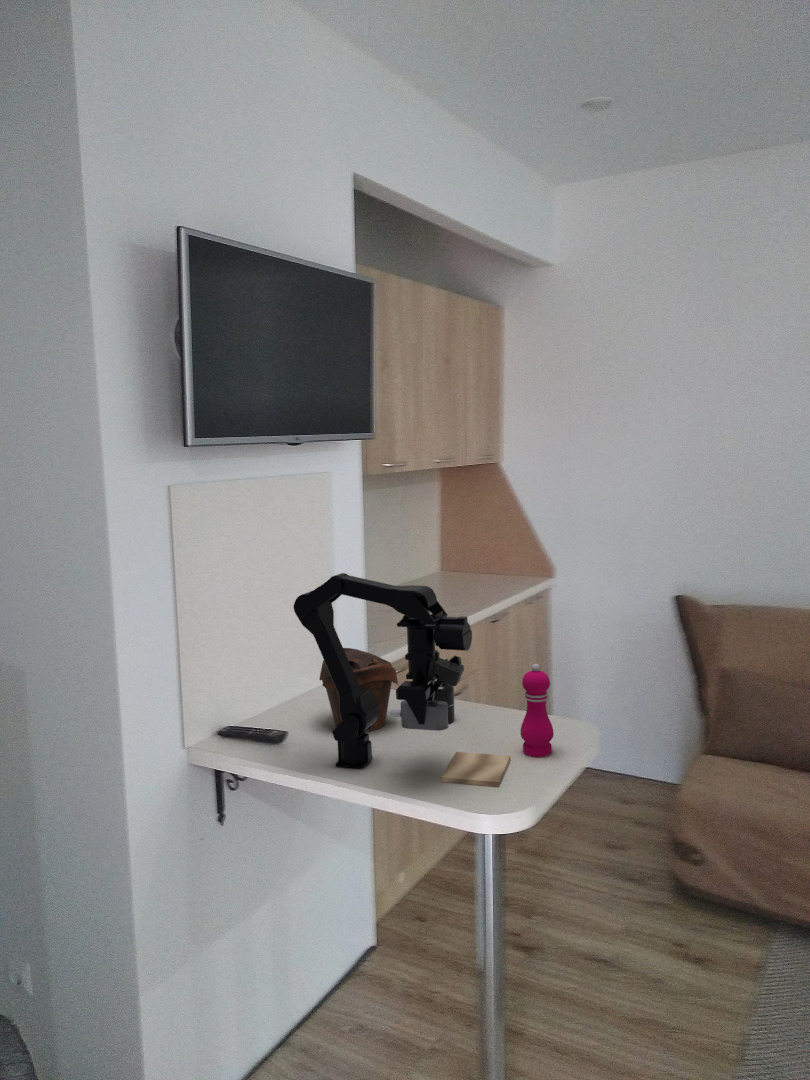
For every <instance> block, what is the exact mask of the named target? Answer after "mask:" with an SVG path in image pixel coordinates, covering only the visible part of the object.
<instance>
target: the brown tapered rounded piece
mask: <svg viewBox="0 0 810 1080" xmlns="http://www.w3.org/2000/svg"><path fill="white" fill-rule="evenodd" d="M343 649H344V651H345V654H346V656H347V658H348V661H349V663H350V665H351V668H352V670H353V672H354V675H355V677H356V679H357V682H358V684H359V686H360V687H361V688H362V689H363V690H364V691H366V692H368V691H369V690H372V692H373V694H374V698H375V700H376V702H377V703H378V705H379V707H378V711H379V715H378V718H377V720H376V722H375V723H374V724H372V727H371V730H369V731H368V732H371V731H375V730H377V729H380V728H381V727H383V726H384V725H385V723H386V721H387V716H388V714H387V713H388V707H389V701H390V695H391V690H392V684H396V685H399V681H398V675H397V670H396V668H395V667H394V666H392V665H393V664H392V663H391V662H389V661H388V660H386V659H384V658H383V657H380V656H378V655H376V654H373V653H370V652H368V651H364V650H360V649H356V648H350V647H343ZM319 681H321V682H322V687H323V688H325V689H326V690H325V691H326V693H327V698H328V701H329V706H330V710H331V713H332V717H333V718H332V719H333V722H334V726H335V728H336V727H337V726H338V725H339V724H340V723H341V722H342V720H341V716H340V712H339V694H338V691H337V689H336V687H335V684H334V682H333V680H332V677H331V675H330V673H329V670H328V668H327V666H326V663H325V661H324V659H323V661H322V664H321V669H320V673H319Z"/></svg>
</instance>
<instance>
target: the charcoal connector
mask: <svg viewBox="0 0 810 1080" xmlns="http://www.w3.org/2000/svg"><path fill="white" fill-rule="evenodd" d="M388 712H389V713H388V715H389V716H388V717H389V718H390V717H392V718H400V720H401V723H400V724H401V728H403V729H407V730H419V731H420V730H422V731H423V730H424V731H436V732H437V731H439V732H440V731H445V730H448V728H449V723H448V707H447V702H444V701H431V700H427V707H426V716H425V723H424V724H419V723H418V721H417V719H416V717H415V716H414V714H413V712H412V710H411V708H410V706H409V705H408V703H407V701H406V700H401V701H400V709H395V708H394V709H393V708H391V710H390V711H388Z"/></svg>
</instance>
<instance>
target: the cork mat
mask: <svg viewBox="0 0 810 1080" xmlns="http://www.w3.org/2000/svg"><path fill="white" fill-rule="evenodd" d="M510 762H511V755H502V754H501V755H500V754H492V753H491V754H489V753H478V752H477V753H476V752H463V751H455V752H454V755H453V756H452V758H451V760H450V761H449V763H448V765H447V766H446V768H445V769H444V771H443V773H442V774H441V776H440V782H441V783H450V784H451V783H452V784H461V785H474V786H486V787H497V788H499V787H500V785H501V783H502V781H503V779H504V776H505V773H506V772H507V769H508V767H509V764H510Z"/></svg>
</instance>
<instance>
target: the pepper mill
mask: <svg viewBox="0 0 810 1080" xmlns="http://www.w3.org/2000/svg"><path fill="white" fill-rule="evenodd" d="M521 684H522V687H523V690H525V692H524V699H525V700H526V712H525V716H524V718H523V721H522V723H521V726H520V737H521V738H522V740H523V741H524V742H523V743H522V752H523V754H525V755H526V756H528V757H534V758H543V757H547V756H549V755H551V754H552V750H553V749H552V747H553V746H552V743H551V741H552V739H553V738H554V727H553V724H552V722H551V720H550V718H549V715H548V711H547V705H546V704H547V700H548V699H549V696H548V695H549V693H548V689H550V686H551V682H550V677H549V675H548V674H547V673H546V672H544V670H543V671H542V670H541V667H540V665H539V664H538V663H534V664H532V665H531V670H530V671H527V672H526V673H525V674H524V675H523V677H522V683H521Z"/></svg>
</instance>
